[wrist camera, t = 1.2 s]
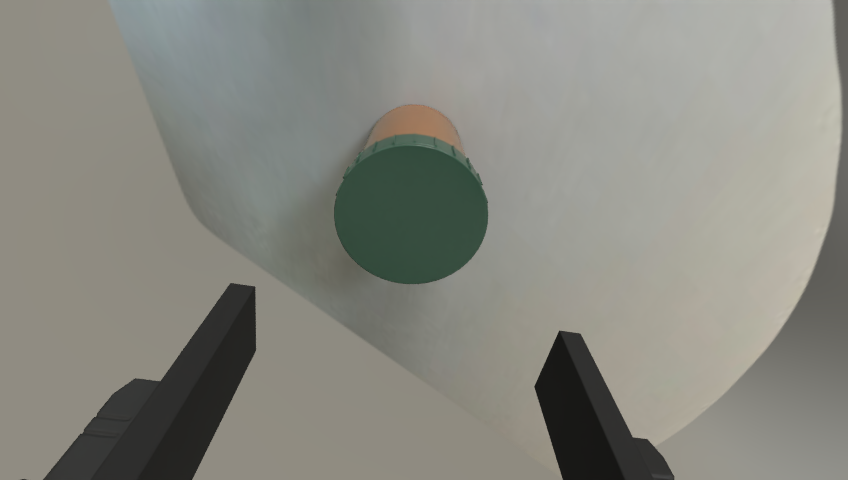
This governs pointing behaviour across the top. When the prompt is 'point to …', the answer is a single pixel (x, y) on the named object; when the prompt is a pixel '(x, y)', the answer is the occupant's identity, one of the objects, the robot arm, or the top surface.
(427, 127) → the jam jar
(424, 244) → the jar lid
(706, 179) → the top surface
